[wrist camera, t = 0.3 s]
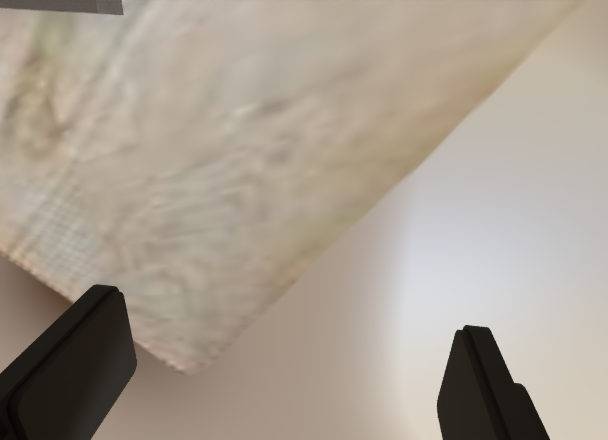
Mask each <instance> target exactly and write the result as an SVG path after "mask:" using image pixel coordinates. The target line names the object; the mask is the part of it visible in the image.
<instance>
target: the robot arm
mask: <svg viewBox="0 0 608 440" xmlns="http://www.w3.org/2000/svg"><path fill="white" fill-rule="evenodd" d="M136 366H137V359H136V354H135V349H134V344H133V339H132V334H131V329H130V324H129V319H128V314H127V309H126V304H125V299H124V295H123V293H122V292H119V289H118V288H117V287H115V286H108V285H99V284H96V285H93V286H92V287H91V288H90V289H89V290H87V291H86V292H85V293H84V294H83V295H82V296H81V297H80V298H79V299H78V300H77V301H76V302H75V303H74V304H73V305H72V306H71V307H70V308H69V309H68V310H67V311H65V312H64V313H63V314H62V315H61V316H60V317H59V318H58V319H57V320H56V321H55V322H54V323H53V324H52V325H51V326H50V327H49V328H48V329H47V330H46V331H44V333H42V335H40V336H39V337H38V338H37V339H36V340H35V341H34V342H33V343H32V344H31V345H30V346H29V347H28V348H27V349H26V350H25V351H24V352H22V353H21V354H20V356H19V357H17V358H16V359H15V360H14V361H13V362H12V363H11V364H10V365H9V366H8V367H7V368H6V369H5V370H4V371H3V372H2V373H1V374H0V440H91V438H92V437H93V435H94V434H95V432H96V431H97V429H98V427H99V426H100V424H101V423H102V421H103V420H104V418H105V417H106V415H107V414H108V412H109V411H110V409H111V408H112V406H113V404H114V403H115V402H116V400H117V398H118V397H119V395H120V394H121V392H122V391H123V389H124V388H125V386H126V385H127V383H128V382H129V380H130V379H131V377H132V376H133V374H134V372H135V370H136ZM437 413H438V418H439V423H440V428H441V433H442V437H443V440H550V438H549V436H548V434H547V432H546V430H545V428H544V425H543V423H542V421H541V419H540V417H539V415H538V413H537V411H536V409H535V407H534V404H533V402H532V400H531V398H530V396H529V394H528V392H527V390H526V389H525V387H524V386H523V385H522V384H519V383H514V381H513V379H512V377H511V375H510V373H509V370H508V368H507V366H506V364H505V361H504V359H503V357H502V355H501V352H500V350H499V348H498V346H497V344H496V341H495V339H494V337H493V335H492V332H491V330H490V329H489V328H488V327H479V326H470V325H465V326H464V328H463V330H457V331H456V333H455V336H454V340H453V344H452V348H451V352H450V355H449V359H448V362H447V366H446V370H445V374H444V377H443V381H442V385H441V388H440V392H439V396H438V400H437Z"/></svg>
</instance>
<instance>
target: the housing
mask: <svg viewBox="0 0 608 440" xmlns="http://www.w3.org/2000/svg"><path fill="white" fill-rule="evenodd" d="M0 8H5V9H23V10H41V11H59V12H77V13H94V14H112V15H123V8H122V1H121V0H0Z"/></svg>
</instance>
